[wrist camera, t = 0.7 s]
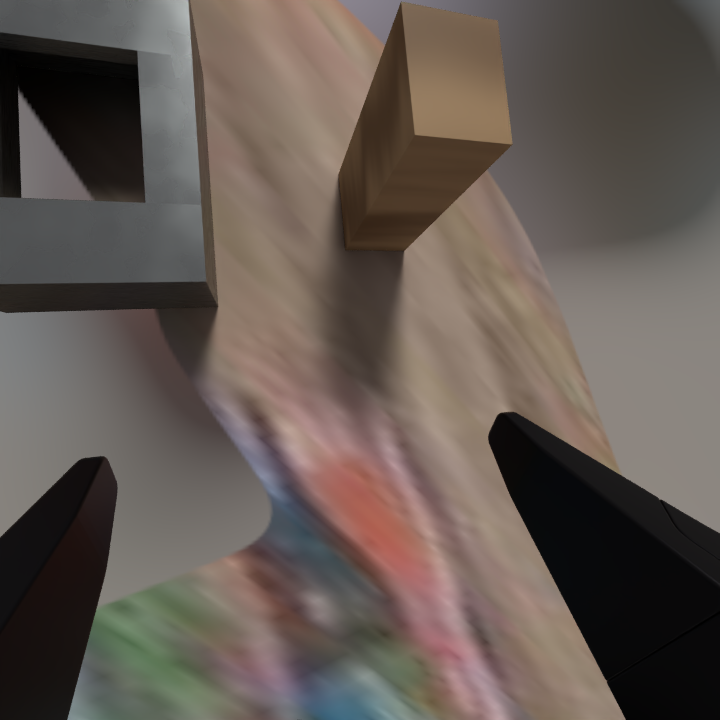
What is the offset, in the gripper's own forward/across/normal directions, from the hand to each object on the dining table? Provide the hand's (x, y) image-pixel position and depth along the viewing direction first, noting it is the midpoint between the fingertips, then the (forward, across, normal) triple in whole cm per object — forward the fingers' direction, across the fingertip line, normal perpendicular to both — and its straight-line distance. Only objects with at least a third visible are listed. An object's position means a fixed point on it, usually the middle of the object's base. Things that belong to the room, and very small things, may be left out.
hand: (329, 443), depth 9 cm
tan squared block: (+18, -6, 0) cm, 19 cm away
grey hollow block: (+19, +8, -1) cm, 21 cm away
